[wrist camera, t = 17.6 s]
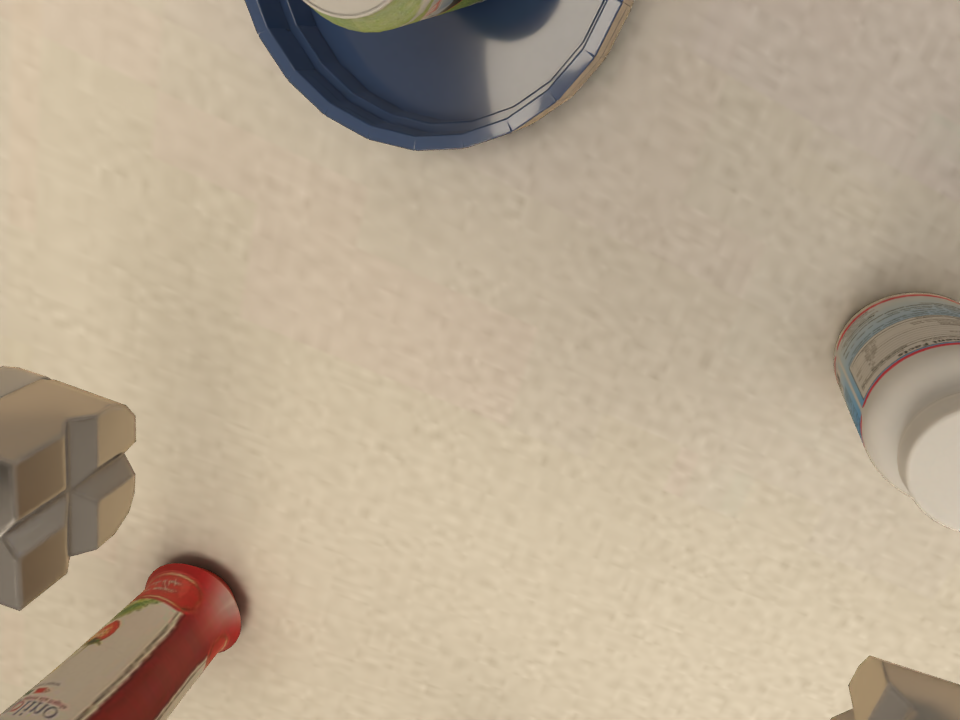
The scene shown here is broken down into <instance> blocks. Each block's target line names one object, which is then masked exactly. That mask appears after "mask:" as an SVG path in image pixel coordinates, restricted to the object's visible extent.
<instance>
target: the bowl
mask: <svg viewBox="0 0 960 720" xmlns="http://www.w3.org/2000/svg"><path fill="white" fill-rule="evenodd" d="M245 2H246V5H247V8H248V10H249V13H250V16H251V18H252V21H253V23H254V26H255V29H256V31H257V34H259V37H260V39H261V40H262V42H263V43H264V45H265V47H266V48H267V50H268V51H269V53H270V54H271V56H272V57H273V59H274V60H275V62H276V63H277V65H278V66H279V68H280V69H281V71H282V72H283V74H284V75H285V77H286V78H287V79H288V81H289V82H290V83H291V84H292V85H293V86H294V87H295V88H296V89H297V90H299V91H300V92H301V93H302V94H303V95H304V96H305V97H306V98H307V99H308V100H309V101H310V102H311V103H312V104H313V105H314V106H315V107H317V108H318V109H319V110H320V111H321V112H322V113H323V114H324V115H326V116H327V117H329V118H330V119H332V120H334V121H336V122H338V123H339V124H341V125H343V126H345V127H347V128H348V129H350V130H352V131H354V132H356V133H357V134H359V135H361V136H363V137H365V138H366V139H369V140H372V141H376V142H381V143H385V144H389V145H393V146H397V147H401V148H405V149H410V150H416V151H424V150H447V149H464V148H468V147H471V146H474V145H477V144H480V143H483V142H486V141H489V140H492V139H495V138H497V137H500V136H503V135H506V134H509V133H512V132H515V131H517V130H520V129H522V128H525V127H527V126H530V125H531V124H533V123H535V122H536V121H538V120H539V119H541V118H542V117H544V116H545V115H547V114H548V113H550V112H551V111H553V110H554V109H555V108H557V107H558V106H560V105H561V104H563V103H564V102H566V101H567V100H569V99H570V98H571V97H572V96H574V94H575V93H576V92H577V91H578V90H579V89H580V87H581V86H582V85H583V84H584V83H585V82H586V81H587V79H588V78H589V77H590V76H591V75H592V74H593V73H594V71H595V70H596V69H597V68H598V67H599V66H600V65H601V63H602V62H603V61H604V60H605V59H606V56H607V55H608V54H609V52H610V50H611V48H612V46H613V44H614V42H615V40H616V38H617V36H618V34H619V32H620V30H621V28H622V26H623V24H624V22H625V20H626V19H627V17H628V15H629V13H630V11H631V7H632V5H633V2H634V0H485V1H483V2H480V3H477V4H474V5H470V6H467V7H464V8H461V9H457V10H454V11H451V12H447V13H444V14H441V15H438V16H434V17H431V18H428V19H425V20H421V21H418V22H415V23H411V24H408V25H405V26H402V27H398V28H395V29H391V30H387V31H383V32H365V33H364V32H359V31H354V30H349V29H346V28H343V27H341V26H338V25H336V24H334V23H332V22H330V21H329V20H327V19H325V18H324V17H322V16H321V15H319V14H318V13H317V12H316V11H315V10H314V9H312V8H311V7H310V6H309V5H307V4H306V3H305V2H304V1H303V0H245Z"/></svg>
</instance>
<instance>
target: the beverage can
mask: <svg viewBox="0 0 960 720" xmlns="http://www.w3.org/2000/svg"><path fill="white" fill-rule="evenodd" d="M303 1H304V2H305V3H306V4H307V5H309V6H310V7H311V8H312V9H314V10H315V11H316V12H317V13H318V14H319V15H321V16H322V17H324V18H325V19H327V20H329V21H330V22H332V23H334V24H336V25H338V26H341V27H343V28H346V29H349V30H354V31H359V32H364V33H365V32H383V31H387V30H391V29H395V28H398V27H402V26H405V25H408V24H411V23H415V22H418V21H421V20H425V19H428V18H431V17H434V16H438V15H441V14H444V13H447V12H451V11H454V10H457V9H461V8H464V7H467V6H470V5H474V4H477V3H480V2H483V1H485V0H303Z"/></svg>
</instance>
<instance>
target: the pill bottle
mask: <svg viewBox="0 0 960 720" xmlns="http://www.w3.org/2000/svg"><path fill="white" fill-rule="evenodd" d="M834 371H835V376H836V379H837V382H838V385H839V387H840V390H841V392H842V395H843V397H844V399H845V402H846V404H847V407H848V409H849V411H850V414H851V416H852V419H853V421H854V423H855V426H856V428H857V431H858V433H859V435H860V438H861V440H862V442H863V445H864V447H865V449H866V452H867V454H868V456H869V458H870V460H871V462H872V463H873V465H874V466H875V468H876V469H877V470H878V472H879V473H880V474H881V475H882V476H883V477H884V478H885V479H886V480H887V481H888V482H889V483H890V484H891V485H892V486H894V487H895V488H896V489H898V490H899V491H901V492H902V493H904V494H906V495H908V496H910V497H912V499H913V500H914V502H915V503H916V504H917V506H918V507H919V508H920V509H921V510H922V511H923V512H924V513H925V514H926V515H927V516H928V517H930V518H931V519H933V520H934V521H935V522H937V523H939V524H941V525H943V526H945V527H947V528H949V529H952V530H955V531H959V532H960V303H958V302H956V301H954V300H952V299H950V298H947V297H944V296H941V295H936V294H931V293H904V294H898V295H893V296H889V297H885V298H882V299H880V300H877V301H875V302H873V303H871V304H869V305H868V306H866V307H864V308H863V309H862V310H860V311H859V312H858V313H857V314H855V315H854V316H853V317H852V318H851V319H850V321H849V322H848V323H847V324H846V326H845V327H844V329H843V330H842V332H841V334H840V336H839V338H838V341H837V343H836V347H835V352H834Z"/></svg>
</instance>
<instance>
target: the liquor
mask: <svg viewBox="0 0 960 720" xmlns="http://www.w3.org/2000/svg"><path fill="white" fill-rule="evenodd" d="M240 630H241V617H240V613H239V609H238V606H237V604H236V601H235V598H234V596H233V593H232V591H231V589H230V588H229V586H228V585H227V584H226V583H225V582H224V580H223V579H221V578H220V577H219V576H218V575H216V574H214V573H213V572H211V571H209V570H206V569H203V568H199V567H195V566H191V565H187V564H180V563H173V564H166V565H164V566H161V567H159V568H158V569H156V570H155V571H153V573H152V574H151V575H150V577H149V578H148V581H147V583H146V587H145V590H144V591H143V592H142V593H141V594H139V595H138V596H137V597H136V598H135V599H134V600H133V601H132V602H131V603H130V604H128V605H127V606H126V607H125V608H124V609H123V610H122V611H121V612H120V613H118V614H117V615H116V616H115V617H114V618H113V619H112V620H111V621H110V622H108V623H107V624H106V625H105V626H104V627H103V628H102V629H101V630H99V631H98V632H97V633H96V634H95V635H94V636H93V637H91V638H90V639H89V640H88V641H87V642H86V643H84V644H83V645H82V646H81V647H80V648H79V649H78V650H76V651H75V652H74V653H73V654H72V655H71V656H70V657H68V658H67V659H66V660H65V661H64V662H63V663H62V664H60V665H59V666H58V667H57V668H56V669H55V670H53V671H52V672H51V673H50V674H49V675H47V676H46V677H45V678H44V679H43V680H41V681H40V682H39V683H38V684H37V685H35V686H34V687H33V688H32V689H31V690H29V691H28V692H27V693H26V694H24V695H23V696H22V697H21V698H20V699H18V700H17V701H16V702H15V703H14V704H12V705H11V706H10V707H9V708H8V709H6V710H5V711H4V712H3V713H2V714H0V720H166V719H167V718H168V717H169V715H170V714H171V713H172V711H173V710H174V709H175V707H176V706H177V705H178V703H179V702H180V701H181V699H182V698H183V697H184V695H185V694H186V693H187V691H188V690H189V689H190V688H191V686H192V685H193V684H194V682H195V681H196V680H197V679H198V677H199V676H200V675H201V673H202V672H203V671H204V670H205V668H206V667H207V666H208V664H209V663H210V662H211V661H212V659H213V658H214V657H215V655H216V654H217V653H219V652H223V651H225V650H227V649H229V648H230V647H231V646H232V645H233V644H234V643H235V642H236V641H237V639H238V637H239V635H240Z"/></svg>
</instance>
